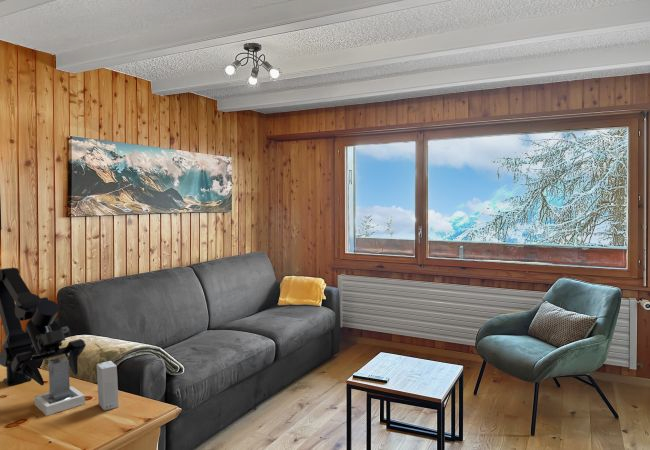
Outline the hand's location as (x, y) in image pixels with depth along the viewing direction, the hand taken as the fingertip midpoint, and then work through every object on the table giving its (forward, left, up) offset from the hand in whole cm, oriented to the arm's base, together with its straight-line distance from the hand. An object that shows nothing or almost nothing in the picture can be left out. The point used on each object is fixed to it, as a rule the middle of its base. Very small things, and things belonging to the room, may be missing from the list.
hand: (60, 379), depth 133 cm
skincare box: (+10, +9, -8) cm, 16 cm away
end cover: (-1, 0, -7) cm, 8 cm away
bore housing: (-1, 0, -7) cm, 8 cm away
